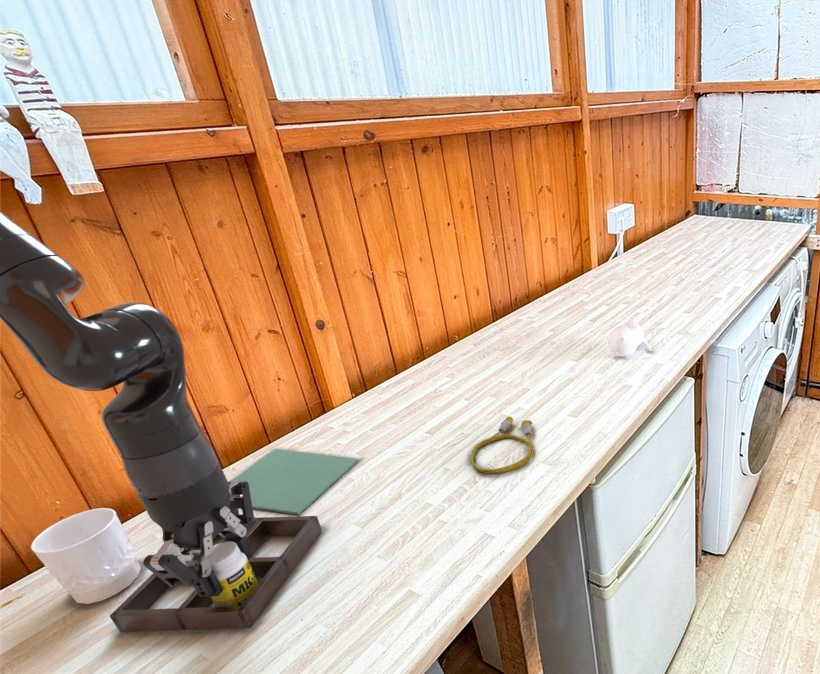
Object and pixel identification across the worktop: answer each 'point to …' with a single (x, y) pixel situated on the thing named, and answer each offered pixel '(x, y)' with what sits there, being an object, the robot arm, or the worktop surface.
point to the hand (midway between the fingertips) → (228, 575)
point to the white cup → (88, 555)
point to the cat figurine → (626, 340)
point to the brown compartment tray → (196, 609)
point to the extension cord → (503, 427)
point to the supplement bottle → (232, 575)
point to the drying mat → (292, 479)
